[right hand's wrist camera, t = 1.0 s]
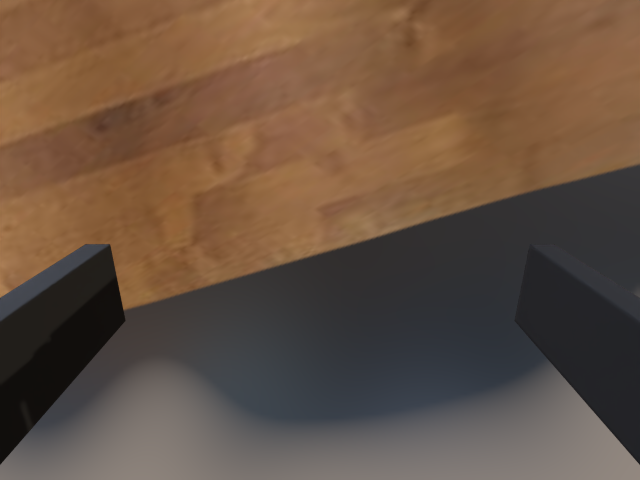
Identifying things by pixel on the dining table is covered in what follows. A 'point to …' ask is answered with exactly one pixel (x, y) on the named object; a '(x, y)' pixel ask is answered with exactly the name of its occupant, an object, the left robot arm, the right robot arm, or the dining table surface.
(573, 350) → the right robot arm
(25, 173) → the dining table surface
